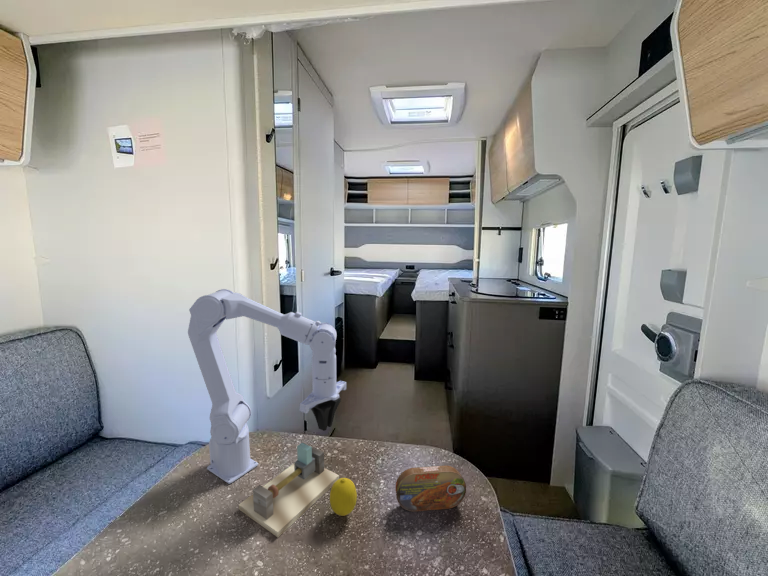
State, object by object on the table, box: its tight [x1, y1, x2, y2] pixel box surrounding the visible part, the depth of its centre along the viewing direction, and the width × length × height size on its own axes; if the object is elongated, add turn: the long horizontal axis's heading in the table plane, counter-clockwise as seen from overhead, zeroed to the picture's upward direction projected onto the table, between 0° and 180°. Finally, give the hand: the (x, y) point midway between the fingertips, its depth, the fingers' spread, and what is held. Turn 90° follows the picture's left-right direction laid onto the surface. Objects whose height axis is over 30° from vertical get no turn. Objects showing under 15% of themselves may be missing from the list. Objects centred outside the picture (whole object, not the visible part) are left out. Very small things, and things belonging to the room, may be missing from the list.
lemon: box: [329, 477, 358, 517], centre depth 67 cm, size 6×6×8 cm
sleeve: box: [293, 442, 315, 479], centre depth 75 cm, size 4×3×6 cm
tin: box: [395, 465, 467, 513], centre depth 70 cm, size 15×3×8 cm, turn 96°
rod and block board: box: [238, 446, 340, 538], centre depth 72 cm, size 18×12×6 cm, turn 148°
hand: (325, 427), depth 81 cm, fingers closed
